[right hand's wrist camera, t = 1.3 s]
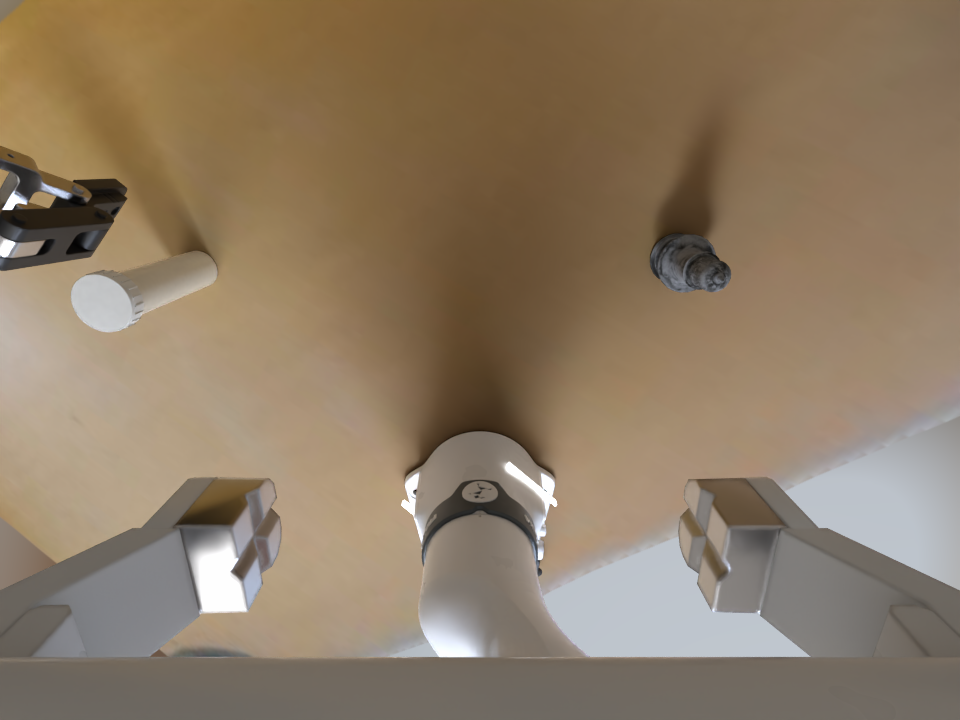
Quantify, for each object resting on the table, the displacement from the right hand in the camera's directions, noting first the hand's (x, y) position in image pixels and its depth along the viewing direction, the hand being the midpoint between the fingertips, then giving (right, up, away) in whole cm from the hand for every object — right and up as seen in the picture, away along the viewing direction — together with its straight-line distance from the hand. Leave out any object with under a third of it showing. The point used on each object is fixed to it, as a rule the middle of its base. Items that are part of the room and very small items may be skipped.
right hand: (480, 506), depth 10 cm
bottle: (-31, +13, +46) cm, 57 cm away
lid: (-31, +8, +32) cm, 45 cm away
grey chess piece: (+21, +14, +46) cm, 52 cm away
